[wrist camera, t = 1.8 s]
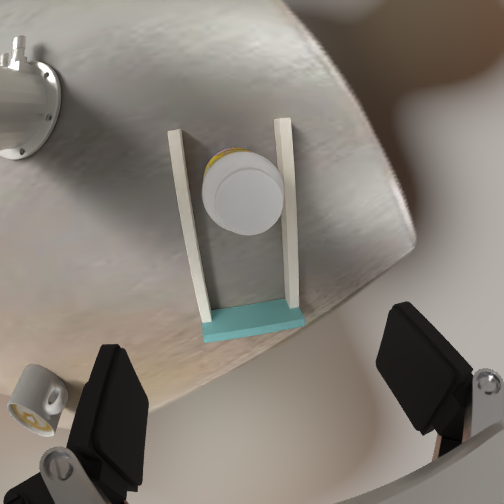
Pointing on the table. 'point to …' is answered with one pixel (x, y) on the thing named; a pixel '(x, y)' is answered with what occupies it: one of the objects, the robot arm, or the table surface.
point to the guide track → (283, 310)
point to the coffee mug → (38, 400)
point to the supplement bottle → (242, 191)
